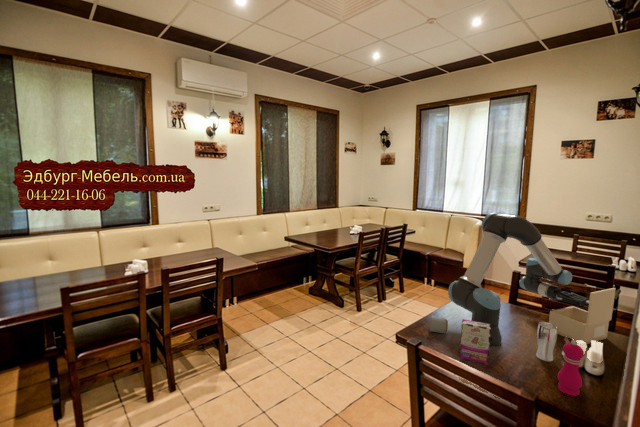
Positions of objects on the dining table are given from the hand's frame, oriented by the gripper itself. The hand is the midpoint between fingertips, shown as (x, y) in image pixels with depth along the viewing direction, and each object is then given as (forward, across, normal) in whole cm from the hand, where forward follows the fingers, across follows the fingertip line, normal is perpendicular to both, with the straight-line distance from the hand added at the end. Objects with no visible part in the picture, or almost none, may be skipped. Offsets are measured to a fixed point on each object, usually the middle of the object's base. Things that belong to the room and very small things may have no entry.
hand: (602, 308), depth 148 cm
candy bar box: (-11, +69, -16) cm, 71 cm away
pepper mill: (+17, +52, -16) cm, 57 cm away
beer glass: (0, +39, -16) cm, 42 cm away
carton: (-8, +2, -16) cm, 18 cm away
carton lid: (0, +3, +2) cm, 3 cm away
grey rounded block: (-36, +66, -16) cm, 77 cm away
